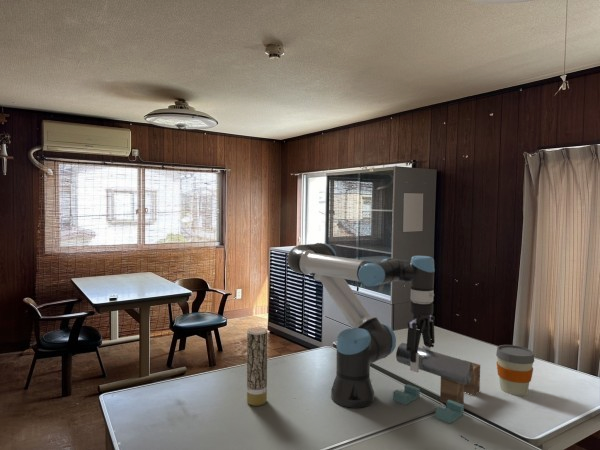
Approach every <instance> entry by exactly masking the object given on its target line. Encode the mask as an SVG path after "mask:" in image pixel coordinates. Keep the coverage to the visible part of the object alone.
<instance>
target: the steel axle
mask: <svg viewBox="0 0 600 450" xmlns="http://www.w3.org/2000/svg"><path fill="white" fill-rule="evenodd" d="M406 347H407V342H406V343H405V342H401V343H400V344H399V345H398V346H397V348H396V353H395V358H396V361H397V363H400V364H403V365H404V366H405V365H406V366H408V367H410V352H409V351H407V350H406ZM417 352H418V353H419V370H420V371H424V372H427V373H428V374H429V373H430V374H433V375H435V376H438V377H440V378H441V377H444V378H447V379H450V380H453V381H456V382H459V383H462V384H465V385H468V384H469V383H470V381H471V379H472V375H473V365H472V363H473V362H472V363H471V361H469V362H468V360H465V361H464V359H461V358H457V357H453V356H450V355H446V354H444V353H439V352H437V351H436V352H435V351H433V350H431V351H430V350H426V349H423V348H422V347H418V351H417Z"/></svg>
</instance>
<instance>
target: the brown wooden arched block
mask: <svg viewBox="0 0 600 450" xmlns="http://www.w3.org/2000/svg"><path fill="white" fill-rule="evenodd" d="M463 360H464V359H463ZM464 361H466V360H464ZM467 361H468V360H467ZM468 362H471V361H468ZM471 363H472V365H473V375H472V379H471V381H470V383H469V384H468V385H465V384H462V383H459V382H456V381H453V380H450V379H447V378H444V377H441V376H440V390H439V392H440V393H439V394H440V397H439V399H440V400H439V401H440V402H441V403H444V404H446V401H448V400H452V401H454V402H457V403H460V404H462V403H463V404H464V398H465V394H467V393H469V394H468V395H470V394H472V395H471V396H473V395H474V396H476V395H477V394H478V393H479V391H480V388H481V387H480V386H481V385H480V384H481V379H480V378H481V364H478V363H476V362H471ZM464 392H466V393H464ZM477 392H478V393H477ZM476 393H477V394H476ZM463 404H462V405H463Z"/></svg>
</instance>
